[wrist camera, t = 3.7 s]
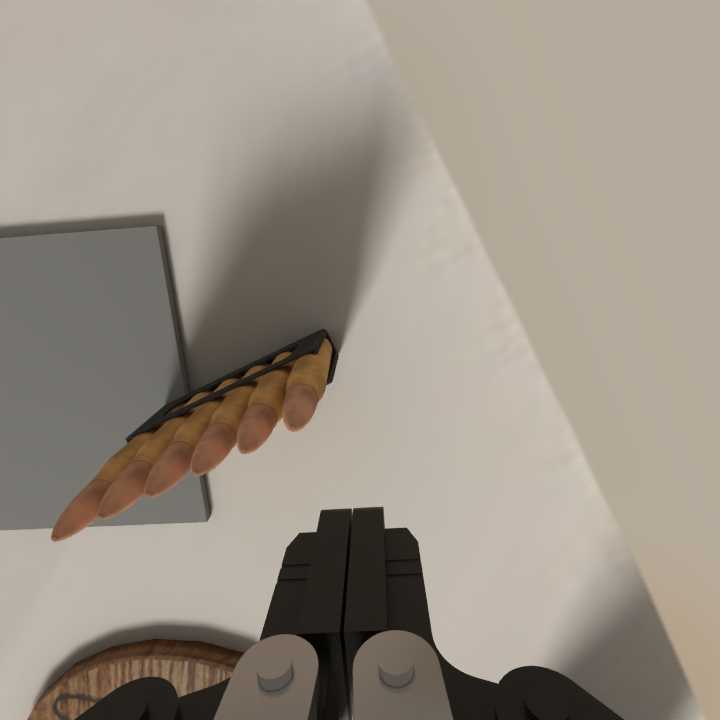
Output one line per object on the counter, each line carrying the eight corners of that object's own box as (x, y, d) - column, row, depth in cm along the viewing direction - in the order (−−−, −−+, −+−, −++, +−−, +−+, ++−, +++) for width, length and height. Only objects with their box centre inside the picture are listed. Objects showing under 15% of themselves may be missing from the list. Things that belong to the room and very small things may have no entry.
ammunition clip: (325, 327, 25) (305, 390, 13) (339, 356, 26) (332, 440, 14) (163, 405, 26) (11, 529, 14) (179, 432, 26) (45, 572, 15)
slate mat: (161, 226, 24) (156, 225, 24) (210, 516, 28) (206, 521, 28) (-79, 245, 25) (-90, 244, 24) (3, 524, 29) (-4, 530, 28)
